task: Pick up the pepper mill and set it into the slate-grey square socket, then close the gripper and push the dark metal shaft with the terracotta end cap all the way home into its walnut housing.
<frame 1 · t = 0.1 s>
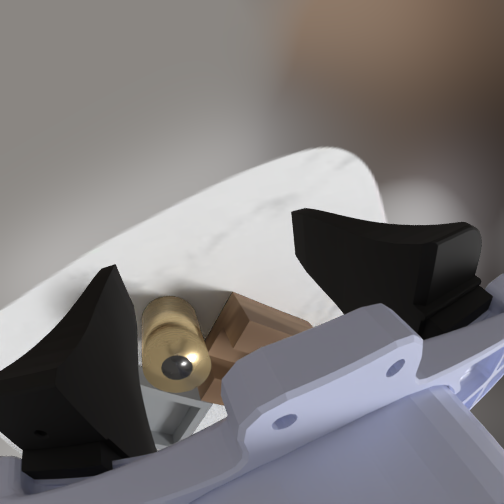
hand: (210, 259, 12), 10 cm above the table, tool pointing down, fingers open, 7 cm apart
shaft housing: (251, 343, 27), on the table
pepper mill: (169, 321, 24), on the table
socket: (152, 403, 26), on the table
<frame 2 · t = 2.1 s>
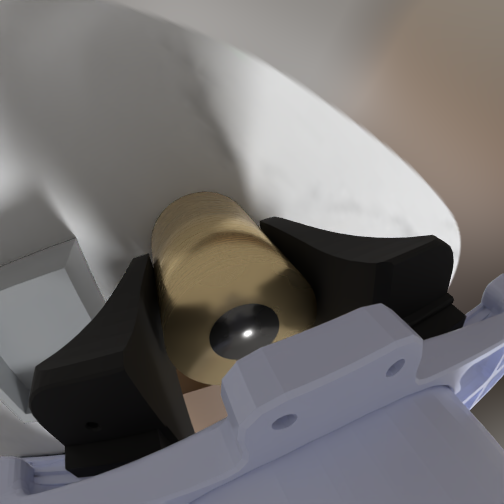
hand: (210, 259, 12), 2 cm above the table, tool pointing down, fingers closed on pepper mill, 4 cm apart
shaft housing: (242, 353, 17), on the table
pepper mill: (202, 241, 13), on the table, touching gripper
socket: (43, 330, 13), on the table
when the fingers open (4 cm above the table, at t = 5.5 s): pepper mill drops 1 cm, resting on socket.
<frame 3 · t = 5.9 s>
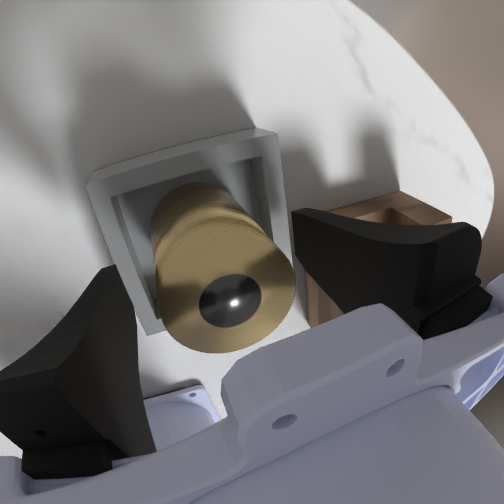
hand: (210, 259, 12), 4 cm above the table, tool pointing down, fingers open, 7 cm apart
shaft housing: (355, 259, 20), on the table
pepper mill: (196, 227, 15), point 1 cm above the table, touching socket
socket: (193, 222, 15), on the table
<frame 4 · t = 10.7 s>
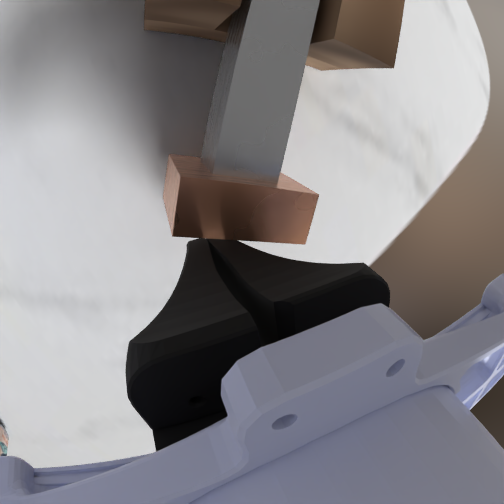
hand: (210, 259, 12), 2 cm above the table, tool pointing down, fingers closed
shaft: (257, 73, 8), point 3 cm above the table, slide at 4.4 cm, touching gripper
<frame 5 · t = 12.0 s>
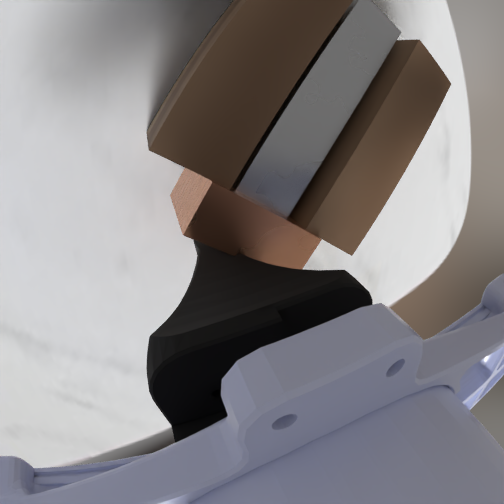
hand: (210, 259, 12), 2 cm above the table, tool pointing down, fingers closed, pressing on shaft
shaft: (302, 113, 10), point 3 cm above the table, slide at -0.3 cm, touching gripper, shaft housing
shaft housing: (277, 92, 12), on the table
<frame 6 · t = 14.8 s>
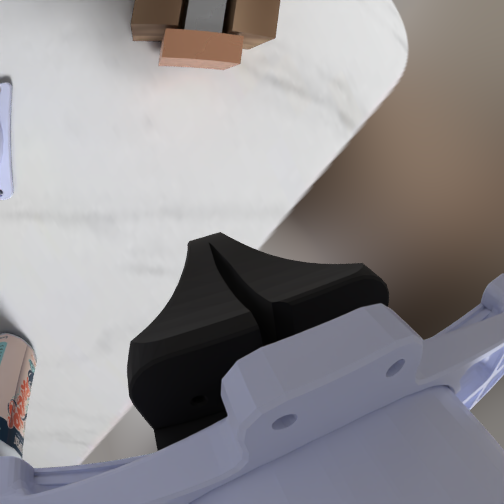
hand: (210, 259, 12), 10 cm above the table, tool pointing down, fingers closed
beer can: (15, 348, 22), on the table
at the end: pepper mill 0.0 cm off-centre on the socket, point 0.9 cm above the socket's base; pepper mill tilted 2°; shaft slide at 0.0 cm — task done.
